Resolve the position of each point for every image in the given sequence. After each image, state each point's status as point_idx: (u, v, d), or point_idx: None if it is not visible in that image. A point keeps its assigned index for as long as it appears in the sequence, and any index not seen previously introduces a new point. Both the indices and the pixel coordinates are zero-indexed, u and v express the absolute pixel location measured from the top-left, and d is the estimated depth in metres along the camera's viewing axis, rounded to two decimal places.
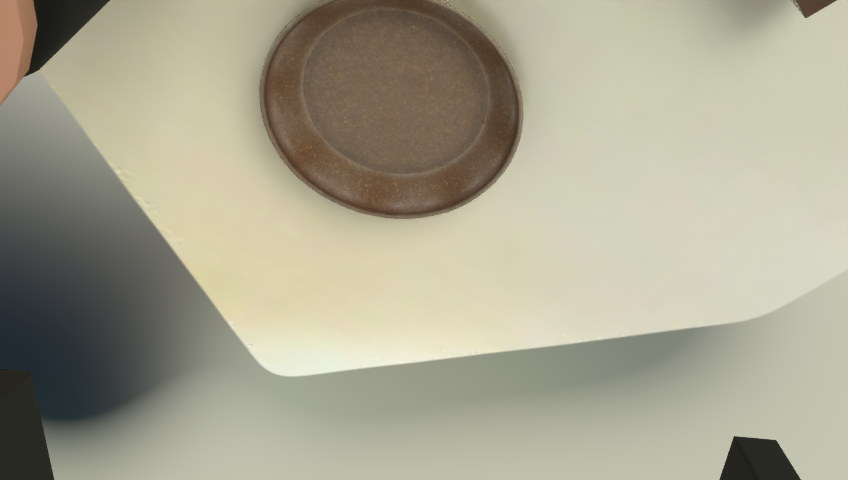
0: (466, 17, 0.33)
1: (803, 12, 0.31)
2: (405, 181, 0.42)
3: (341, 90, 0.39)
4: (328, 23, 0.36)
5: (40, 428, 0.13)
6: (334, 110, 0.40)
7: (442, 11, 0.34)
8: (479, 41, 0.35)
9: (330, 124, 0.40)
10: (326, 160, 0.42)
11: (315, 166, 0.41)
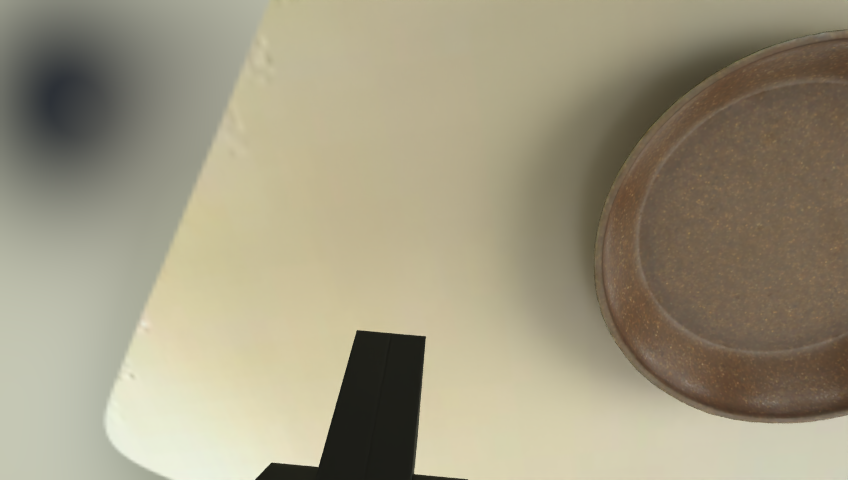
0: None
1: None
2: (669, 331, 0.27)
3: (747, 162, 0.24)
4: None
5: None
6: (706, 177, 0.24)
7: None
8: None
9: (677, 188, 0.24)
10: (624, 228, 0.25)
11: (614, 223, 0.24)
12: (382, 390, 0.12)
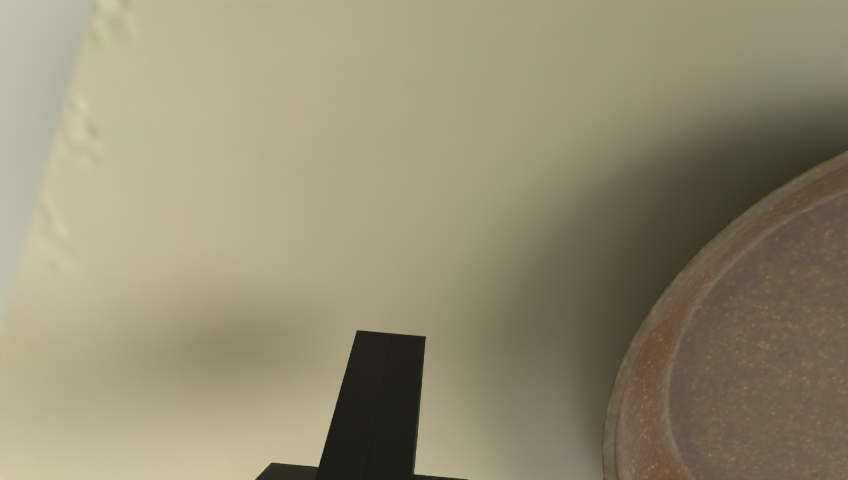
0: None
1: None
2: None
3: (840, 289, 0.15)
4: None
5: None
6: (775, 310, 0.16)
7: None
8: None
9: (730, 326, 0.16)
10: (648, 385, 0.16)
11: (634, 384, 0.15)
12: (382, 390, 0.12)
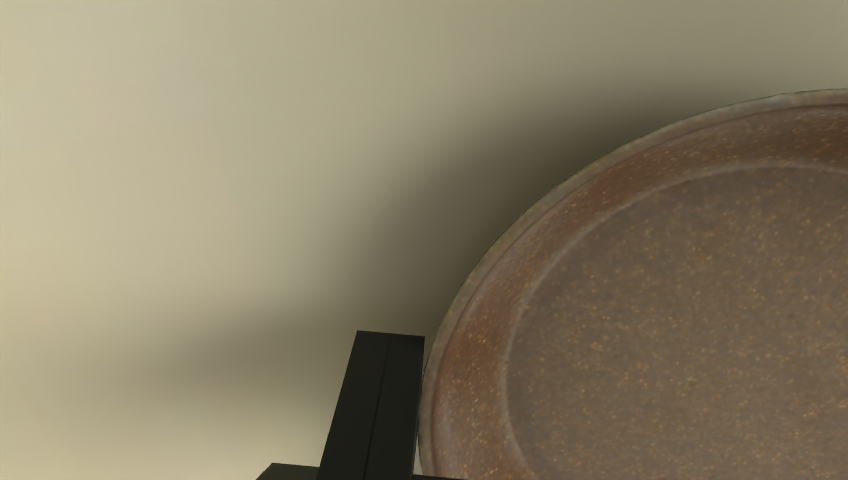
0: None
1: None
2: None
3: (667, 288, 0.15)
4: (835, 157, 0.13)
5: None
6: (604, 310, 0.15)
7: None
8: None
9: (560, 327, 0.15)
10: (477, 388, 0.16)
11: (456, 387, 0.15)
12: (381, 390, 0.12)
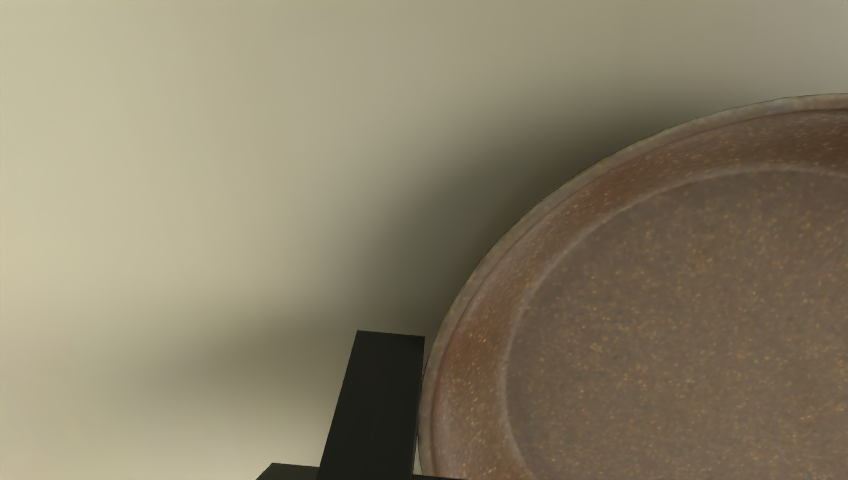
0: None
1: None
2: None
3: (667, 291, 0.15)
4: (836, 161, 0.13)
5: None
6: (604, 311, 0.15)
7: None
8: None
9: (560, 327, 0.15)
10: (477, 387, 0.16)
11: (456, 386, 0.15)
12: (381, 390, 0.12)
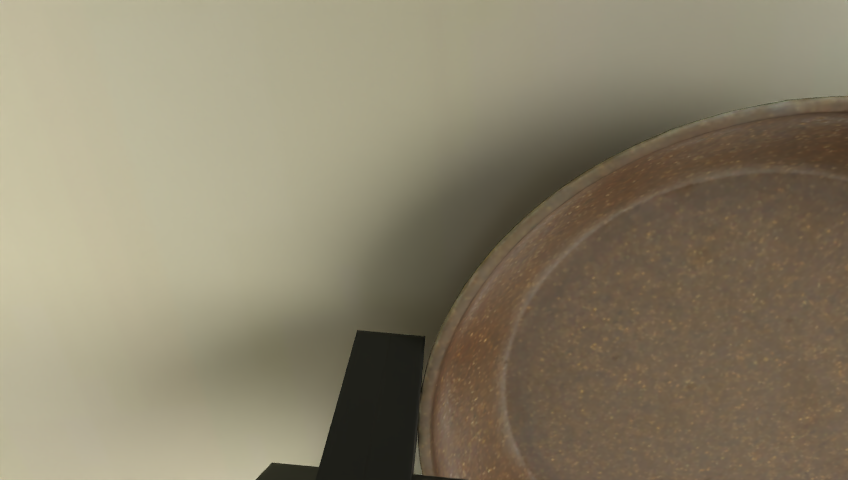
0: None
1: None
2: None
3: (668, 291, 0.15)
4: (836, 164, 0.13)
5: None
6: (604, 312, 0.15)
7: None
8: None
9: (560, 327, 0.16)
10: (477, 387, 0.16)
11: (456, 385, 0.15)
12: (382, 390, 0.12)
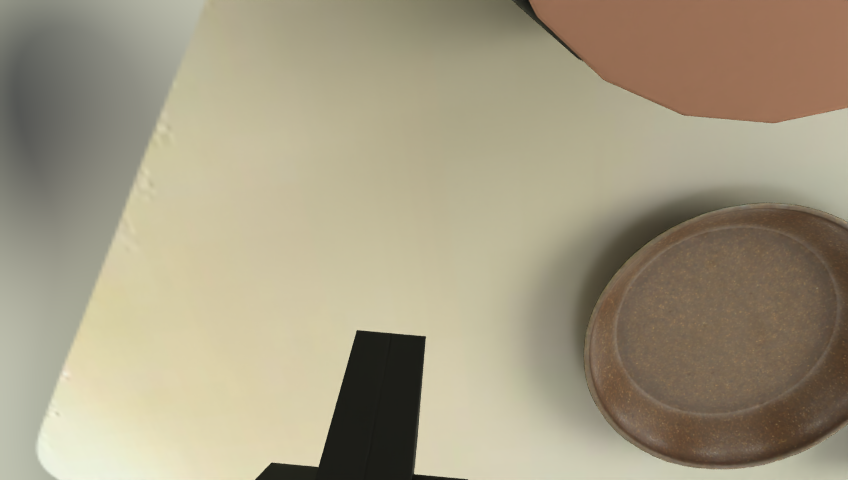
0: None
1: None
2: (638, 398, 0.35)
3: (695, 280, 0.33)
4: (769, 224, 0.31)
5: None
6: (666, 289, 0.33)
7: None
8: None
9: (645, 296, 0.33)
10: (606, 325, 0.33)
11: (599, 323, 0.33)
12: (382, 390, 0.12)
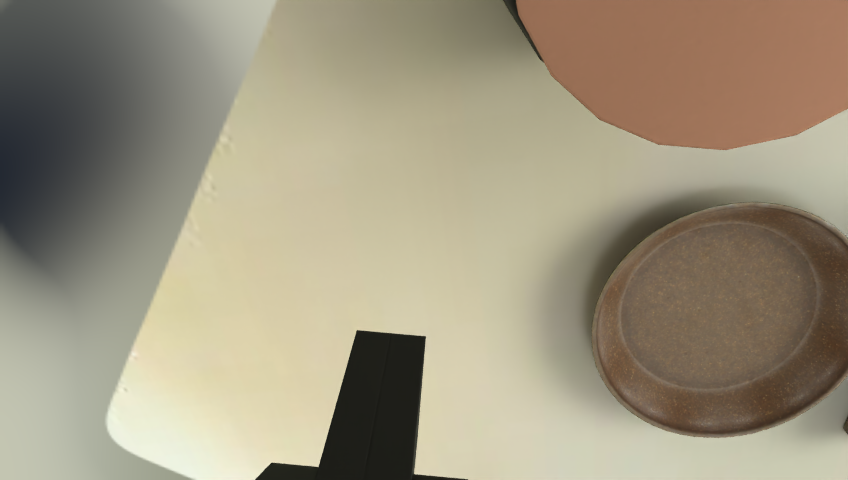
0: None
1: None
2: (641, 375, 0.40)
3: (690, 269, 0.37)
4: (755, 221, 0.36)
5: None
6: (664, 278, 0.37)
7: (845, 289, 0.36)
8: (837, 328, 0.37)
9: (646, 284, 0.38)
10: (611, 309, 0.38)
11: (605, 307, 0.37)
12: (382, 390, 0.12)
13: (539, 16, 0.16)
